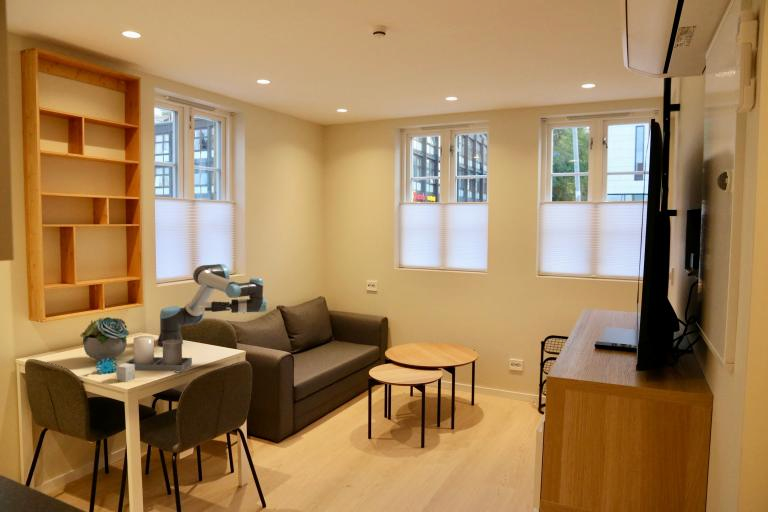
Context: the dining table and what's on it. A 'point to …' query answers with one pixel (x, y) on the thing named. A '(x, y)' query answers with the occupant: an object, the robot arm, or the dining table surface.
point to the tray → (159, 365)
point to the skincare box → (125, 372)
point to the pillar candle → (172, 352)
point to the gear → (106, 366)
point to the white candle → (144, 350)
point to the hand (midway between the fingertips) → (198, 306)
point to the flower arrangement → (105, 338)
